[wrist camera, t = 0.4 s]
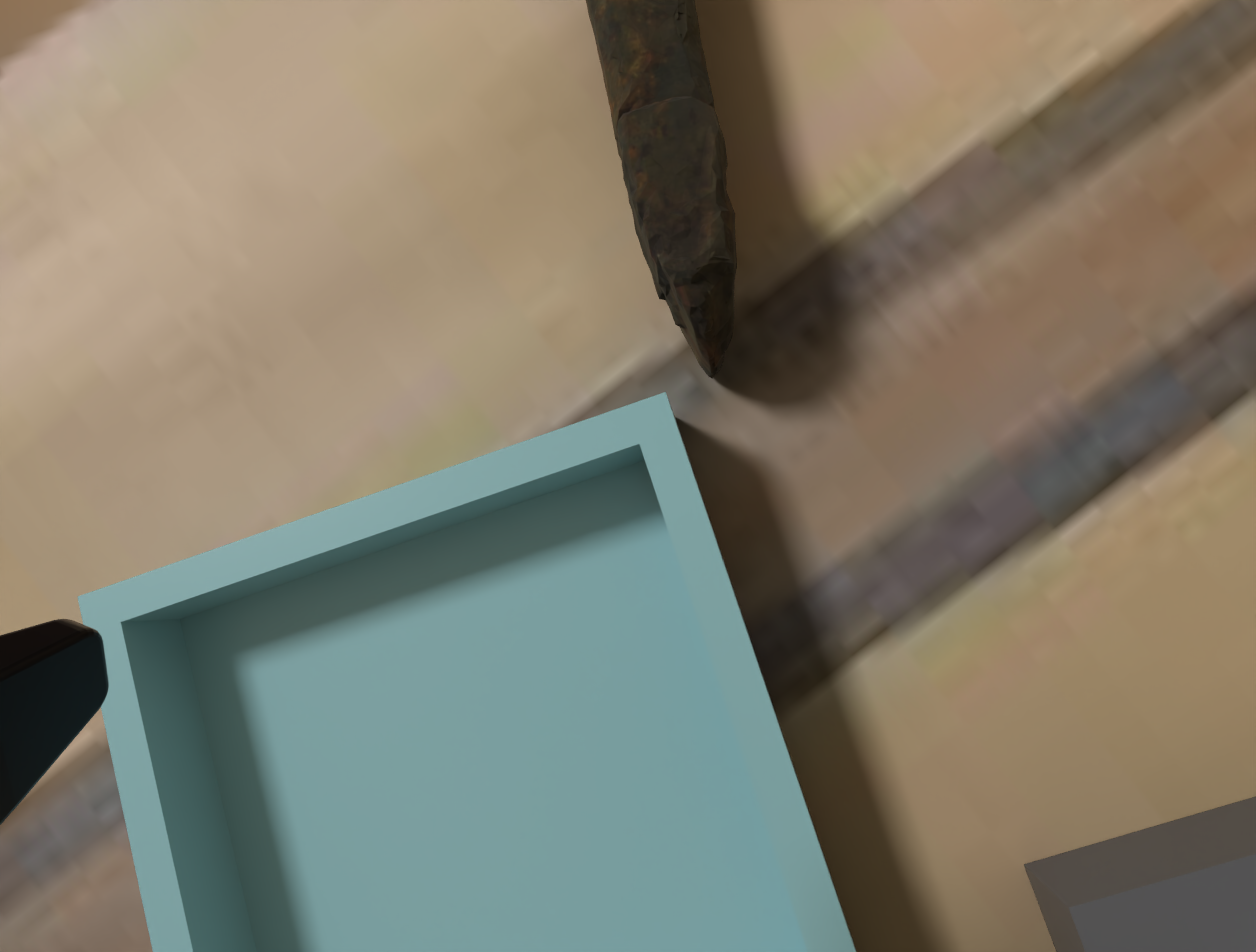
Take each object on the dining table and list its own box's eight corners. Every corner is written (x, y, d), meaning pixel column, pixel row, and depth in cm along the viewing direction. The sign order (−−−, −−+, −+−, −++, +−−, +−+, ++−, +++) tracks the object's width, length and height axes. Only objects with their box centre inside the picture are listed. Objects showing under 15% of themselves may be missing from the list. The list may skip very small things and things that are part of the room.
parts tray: (878, 1016, 22) (900, 1083, 19) (288, 1182, 23) (221, 1270, 20) (674, 416, 24) (665, 392, 21) (154, 595, 25) (77, 596, 23)
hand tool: (536, -183, 28) (495, -335, 23) (661, -213, 27) (645, -375, 23) (617, 398, 25) (589, 355, 20) (758, 374, 24) (761, 325, 20)
